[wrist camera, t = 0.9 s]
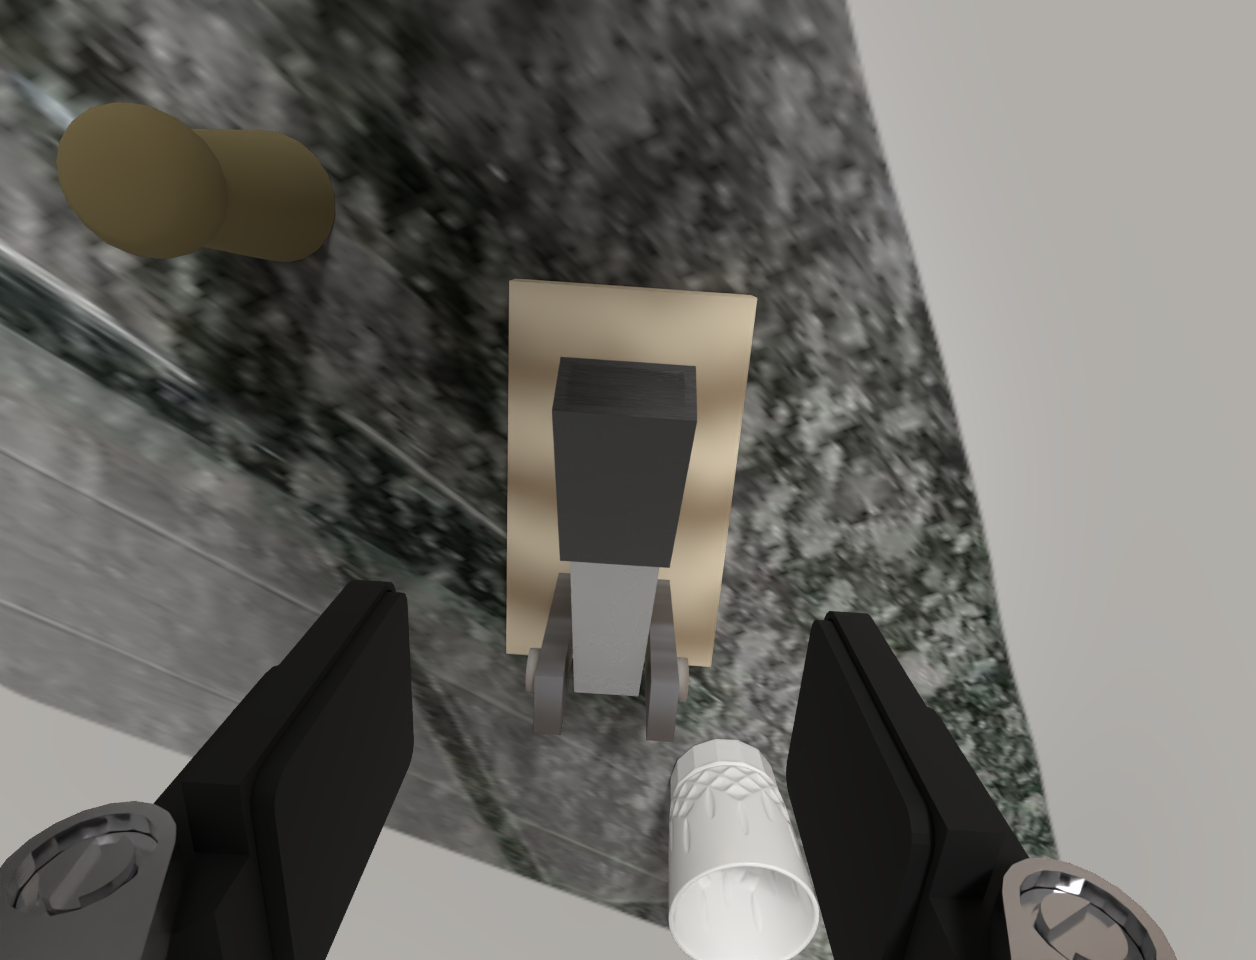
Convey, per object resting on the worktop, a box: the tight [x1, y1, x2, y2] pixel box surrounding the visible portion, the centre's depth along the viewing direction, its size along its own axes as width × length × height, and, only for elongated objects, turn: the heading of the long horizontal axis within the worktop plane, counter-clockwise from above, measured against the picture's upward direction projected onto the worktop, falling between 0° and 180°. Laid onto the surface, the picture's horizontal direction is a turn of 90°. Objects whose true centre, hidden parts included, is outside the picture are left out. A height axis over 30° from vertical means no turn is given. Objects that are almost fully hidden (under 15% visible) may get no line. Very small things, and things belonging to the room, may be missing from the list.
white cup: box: [668, 739, 819, 960], centre depth 40 cm, size 8×8×10 cm
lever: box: [552, 357, 697, 696], centre depth 25 cm, size 19×4×4 cm
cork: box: [56, 102, 335, 262], centre depth 28 cm, size 6×6×11 cm
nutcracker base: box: [506, 279, 757, 742], centre depth 33 cm, size 21×12×12 cm, turn 176°
